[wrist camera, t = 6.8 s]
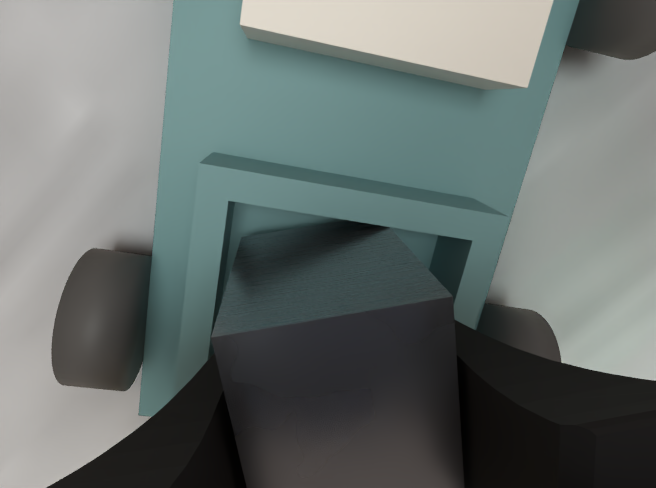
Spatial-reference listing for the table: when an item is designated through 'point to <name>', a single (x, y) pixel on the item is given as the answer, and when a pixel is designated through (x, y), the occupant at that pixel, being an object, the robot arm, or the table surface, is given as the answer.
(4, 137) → the table surface
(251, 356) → the dark grey upright block
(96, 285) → the chassis
